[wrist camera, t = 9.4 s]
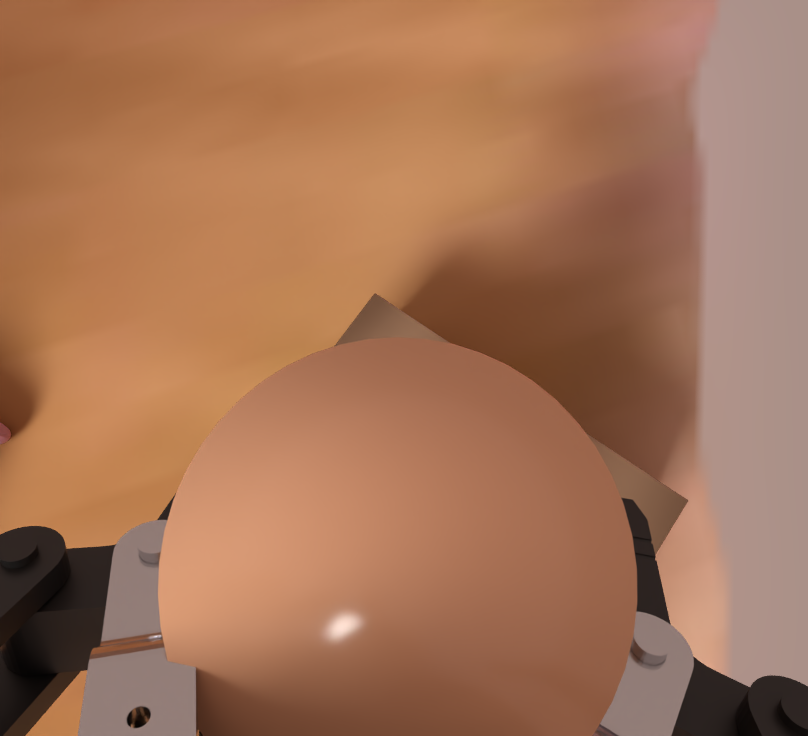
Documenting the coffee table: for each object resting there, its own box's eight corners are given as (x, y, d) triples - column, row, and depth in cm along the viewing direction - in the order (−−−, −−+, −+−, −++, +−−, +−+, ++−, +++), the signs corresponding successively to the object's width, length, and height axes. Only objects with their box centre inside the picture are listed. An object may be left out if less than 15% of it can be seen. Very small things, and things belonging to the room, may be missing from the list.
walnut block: (192, 585, 24) (146, 594, 20) (383, 329, 26) (374, 292, 23) (462, 805, 22) (468, 862, 18) (647, 506, 24) (688, 500, 20)
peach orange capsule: (266, 552, 18) (64, 560, 8) (419, 403, 19) (397, 253, 9) (417, 723, 17) (387, 972, 7) (573, 555, 17) (740, 569, 8)
